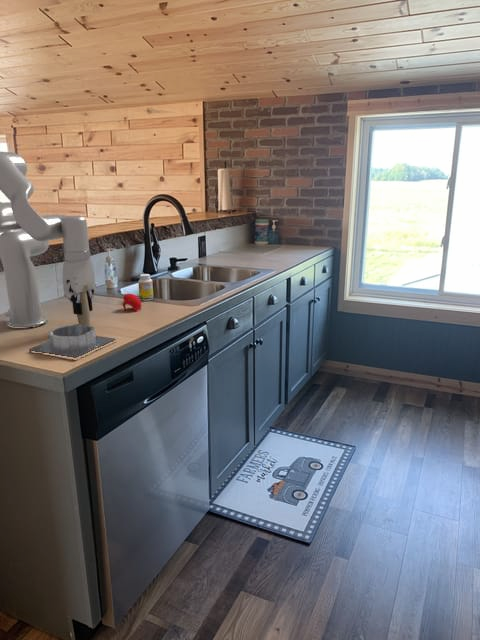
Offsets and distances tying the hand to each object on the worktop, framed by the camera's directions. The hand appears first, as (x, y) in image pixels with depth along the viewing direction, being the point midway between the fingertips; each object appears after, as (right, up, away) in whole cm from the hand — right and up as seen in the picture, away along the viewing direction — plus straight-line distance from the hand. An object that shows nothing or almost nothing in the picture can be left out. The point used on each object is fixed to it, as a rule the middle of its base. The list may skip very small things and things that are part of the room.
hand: (83, 311), depth 154 cm
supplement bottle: (+13, +5, +39) cm, 42 cm away
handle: (0, -6, +2) cm, 6 cm away
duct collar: (+2, -11, -15) cm, 18 cm away
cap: (+10, +1, +25) cm, 27 cm away
